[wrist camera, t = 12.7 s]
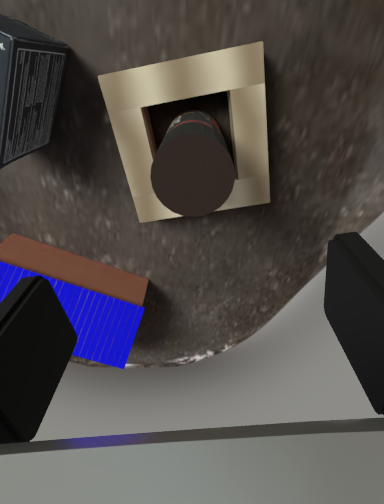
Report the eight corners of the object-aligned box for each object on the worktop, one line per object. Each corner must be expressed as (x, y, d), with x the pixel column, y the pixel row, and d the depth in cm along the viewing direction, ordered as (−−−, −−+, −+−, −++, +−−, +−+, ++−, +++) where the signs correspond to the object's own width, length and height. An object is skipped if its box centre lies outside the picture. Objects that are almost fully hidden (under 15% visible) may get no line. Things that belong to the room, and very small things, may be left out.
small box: (3, 11, 28) (-87, -16, 19) (71, 46, 30) (17, 35, 21) (-8, 121, 33) (-84, 140, 24) (51, 147, 35) (0, 173, 26)
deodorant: (202, 173, 36) (206, 230, 23) (158, 146, 34) (136, 192, 22) (230, 127, 33) (252, 163, 20) (184, 97, 32) (176, 114, 19)
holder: (255, 44, 29) (263, 41, 26) (263, 190, 37) (270, 202, 34) (108, 75, 31) (97, 75, 27) (145, 209, 38) (140, 222, 35)
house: (11, 229, 41) (-50, 281, 31) (151, 277, 44) (138, 337, 34) (3, 293, 46) (-51, 354, 36) (128, 331, 50) (111, 396, 40)
